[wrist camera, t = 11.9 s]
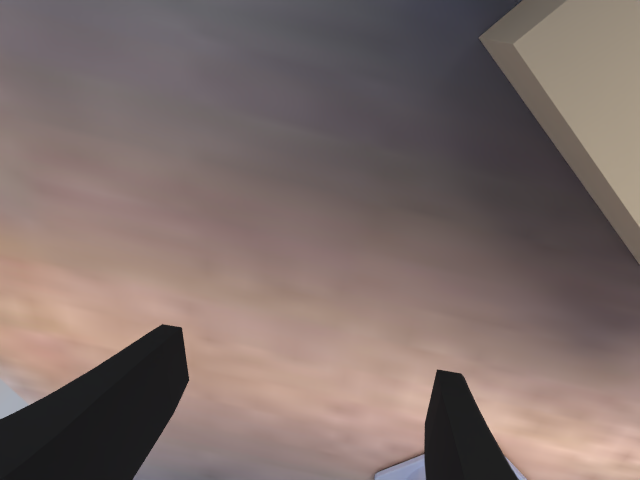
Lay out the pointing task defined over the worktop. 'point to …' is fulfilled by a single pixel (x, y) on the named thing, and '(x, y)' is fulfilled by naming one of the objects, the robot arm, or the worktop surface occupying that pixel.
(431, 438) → the robot arm
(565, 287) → the worktop surface
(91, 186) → the worktop surface
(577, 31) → the carton
